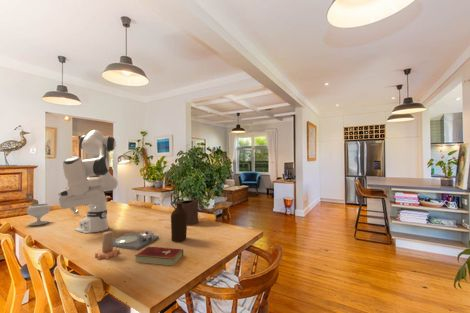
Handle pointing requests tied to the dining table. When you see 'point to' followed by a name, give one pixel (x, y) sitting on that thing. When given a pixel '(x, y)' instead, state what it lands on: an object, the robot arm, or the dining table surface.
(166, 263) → the hardcover book
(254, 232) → the dining table surface
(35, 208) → the chalice
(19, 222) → the dining table surface
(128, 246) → the carrier plate
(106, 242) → the gear
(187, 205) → the cup holder
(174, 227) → the olive oil
